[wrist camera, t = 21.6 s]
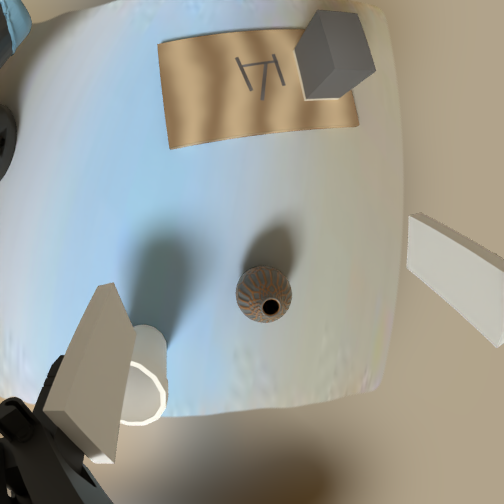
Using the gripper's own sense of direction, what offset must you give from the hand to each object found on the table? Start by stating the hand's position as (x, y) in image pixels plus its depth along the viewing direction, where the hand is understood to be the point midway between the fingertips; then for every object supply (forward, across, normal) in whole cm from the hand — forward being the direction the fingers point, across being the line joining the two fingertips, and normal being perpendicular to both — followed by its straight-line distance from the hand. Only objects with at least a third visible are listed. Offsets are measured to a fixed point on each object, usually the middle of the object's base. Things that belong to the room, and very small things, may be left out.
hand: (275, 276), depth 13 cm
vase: (+25, +2, -16) cm, 30 cm away
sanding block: (+31, +15, +11) cm, 36 cm away
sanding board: (+32, +7, +11) cm, 35 cm away
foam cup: (+24, -16, -20) cm, 35 cm away
